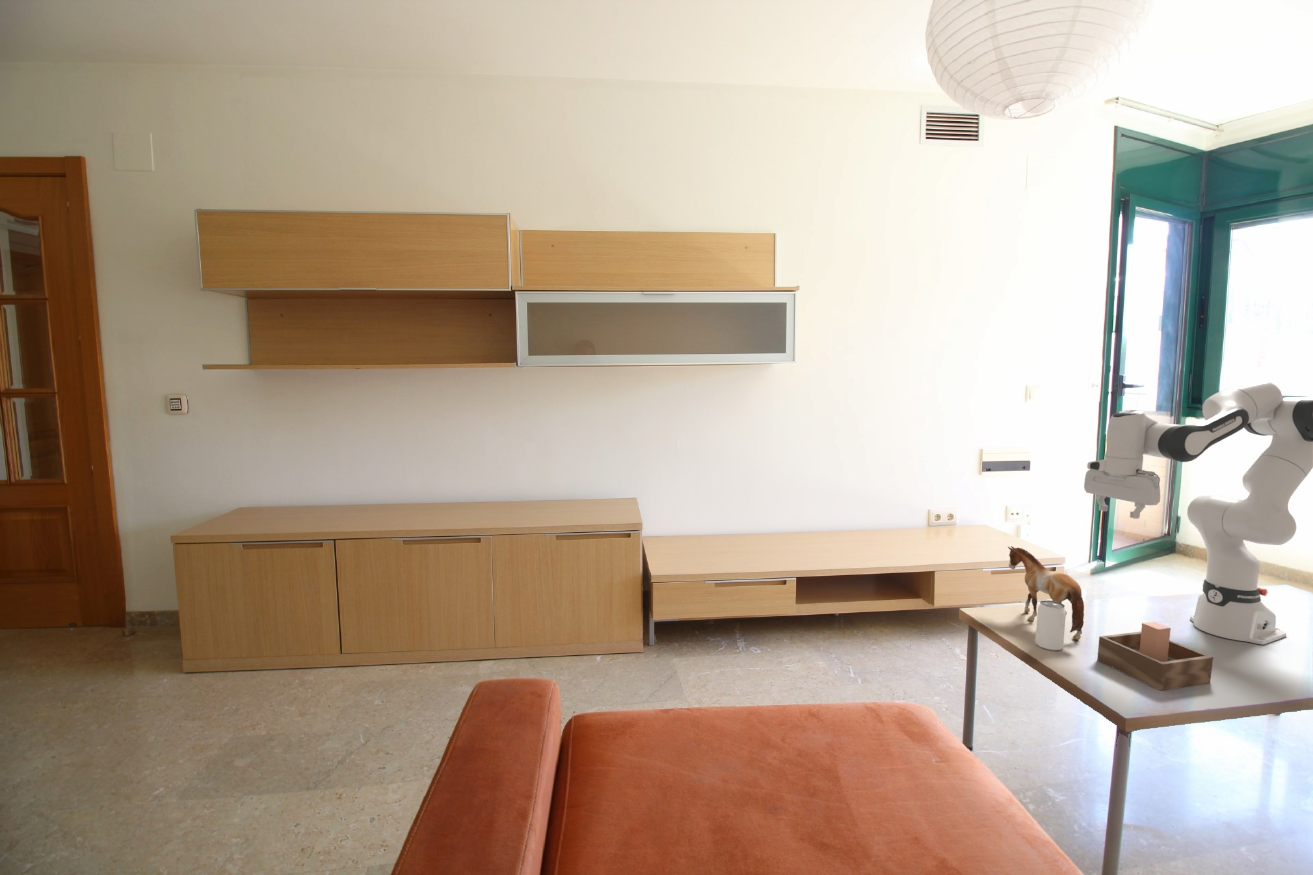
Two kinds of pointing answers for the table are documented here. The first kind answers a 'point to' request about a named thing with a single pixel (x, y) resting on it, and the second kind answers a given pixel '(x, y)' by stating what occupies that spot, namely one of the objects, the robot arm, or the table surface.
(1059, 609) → the can
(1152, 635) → the peg
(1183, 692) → the table surface
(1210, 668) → the wooden tray
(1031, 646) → the table surface
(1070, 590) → the horse figurine
